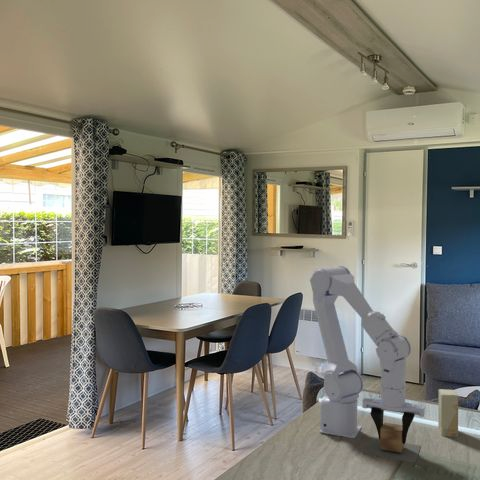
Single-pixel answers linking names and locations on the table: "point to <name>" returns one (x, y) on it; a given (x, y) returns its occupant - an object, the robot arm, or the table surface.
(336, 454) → the table surface
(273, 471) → the table surface
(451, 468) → the table surface
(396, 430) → the cube
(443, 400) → the box
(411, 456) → the mat
